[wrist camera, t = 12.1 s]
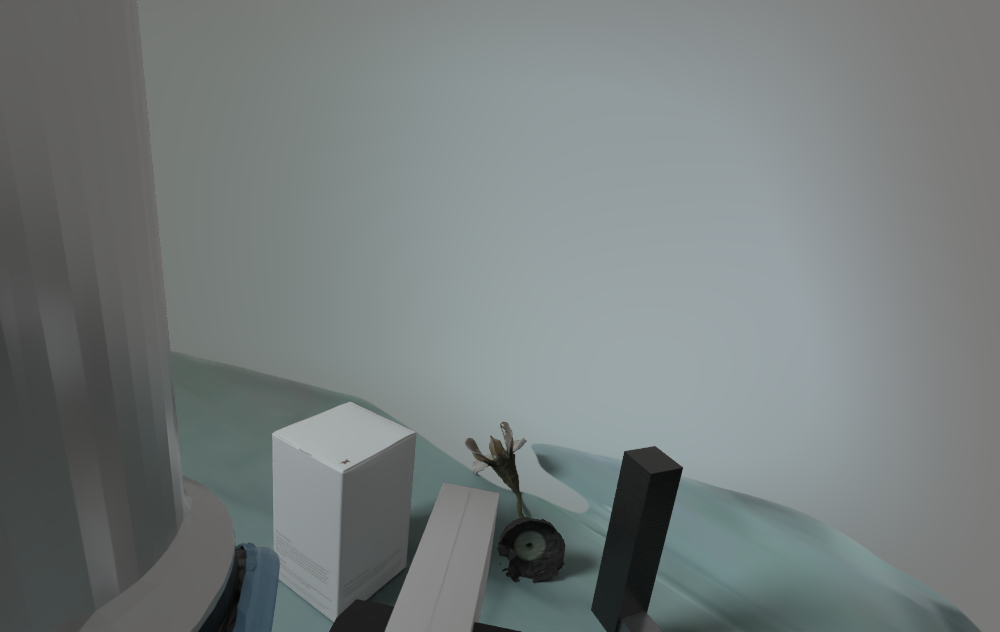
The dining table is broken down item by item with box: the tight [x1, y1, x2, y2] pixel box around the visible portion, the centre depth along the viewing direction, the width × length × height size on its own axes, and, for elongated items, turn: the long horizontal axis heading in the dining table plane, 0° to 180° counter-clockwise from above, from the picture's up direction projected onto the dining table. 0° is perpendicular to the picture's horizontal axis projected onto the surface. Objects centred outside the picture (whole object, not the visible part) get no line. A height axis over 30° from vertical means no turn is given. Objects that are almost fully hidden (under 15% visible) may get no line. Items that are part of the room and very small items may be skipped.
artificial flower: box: [465, 422, 565, 583], centre depth 61 cm, size 9×22×10 cm, turn 5°
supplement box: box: [272, 402, 416, 622], centre depth 48 cm, size 9×9×15 cm
